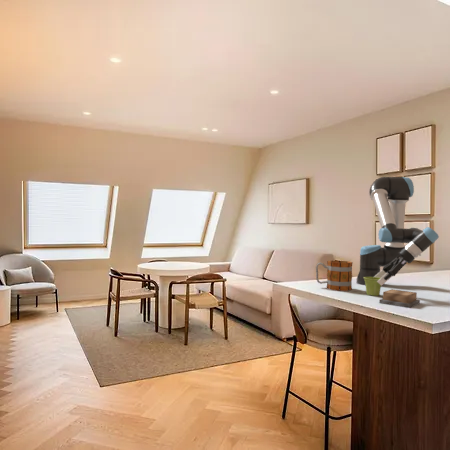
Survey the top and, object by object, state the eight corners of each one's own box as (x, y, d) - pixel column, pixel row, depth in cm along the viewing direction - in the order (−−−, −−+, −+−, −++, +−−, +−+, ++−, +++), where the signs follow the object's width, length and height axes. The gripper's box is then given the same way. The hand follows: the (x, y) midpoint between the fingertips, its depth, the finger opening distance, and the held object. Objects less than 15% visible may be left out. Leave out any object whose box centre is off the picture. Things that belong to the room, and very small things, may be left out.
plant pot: (359, 293, 201) (360, 276, 201) (377, 293, 202) (377, 276, 202) (368, 296, 192) (368, 279, 192) (386, 296, 193) (386, 279, 193)
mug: (351, 287, 218) (351, 261, 218) (352, 291, 205) (353, 263, 205) (315, 285, 223) (316, 259, 223) (314, 289, 210) (315, 261, 210)
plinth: (379, 302, 177) (379, 292, 177) (390, 299, 187) (391, 288, 187) (409, 307, 168) (409, 296, 168) (419, 303, 178) (419, 292, 178)
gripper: (422, 260, 179) (387, 291, 183) (409, 256, 204) (378, 283, 207) (409, 248, 180) (375, 279, 184) (398, 246, 205) (368, 273, 208)
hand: (376, 281), depth 195 cm, fingers open, 13 cm apart
